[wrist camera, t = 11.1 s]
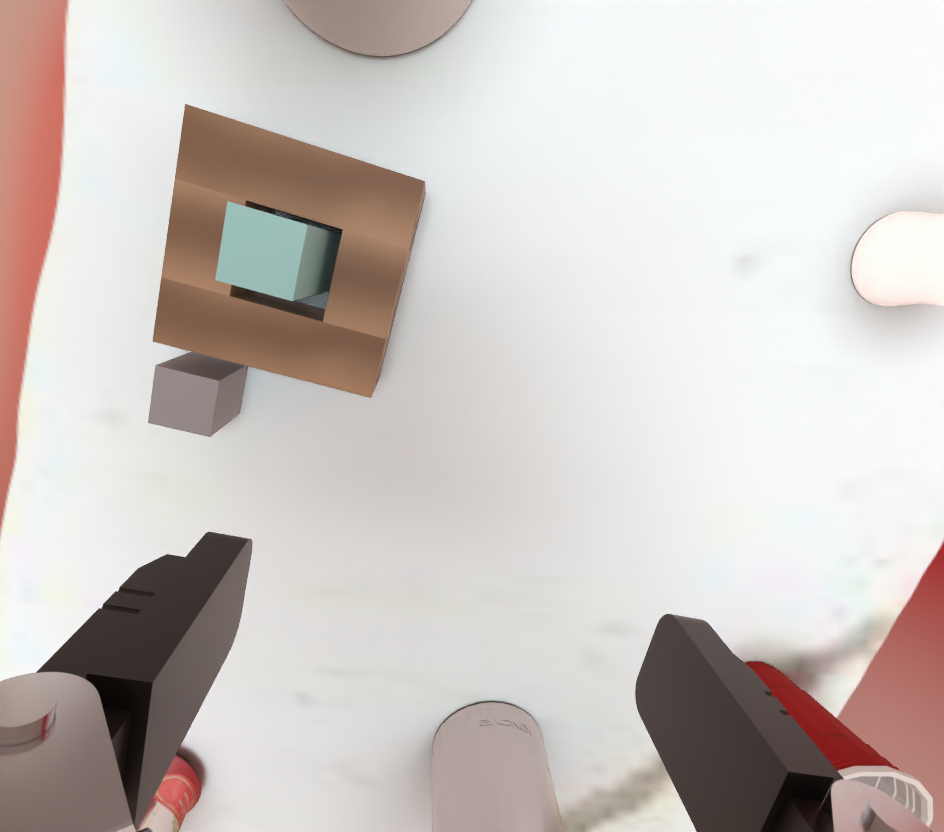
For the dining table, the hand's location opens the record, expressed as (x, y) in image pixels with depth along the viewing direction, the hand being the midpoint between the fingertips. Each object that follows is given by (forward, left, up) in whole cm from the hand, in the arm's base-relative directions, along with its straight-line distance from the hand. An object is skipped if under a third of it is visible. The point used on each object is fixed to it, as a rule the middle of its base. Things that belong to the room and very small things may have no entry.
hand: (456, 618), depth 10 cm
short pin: (-5, +13, -27) cm, 30 cm away
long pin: (+4, +9, -27) cm, 28 cm away
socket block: (+4, +9, -27) cm, 28 cm away
